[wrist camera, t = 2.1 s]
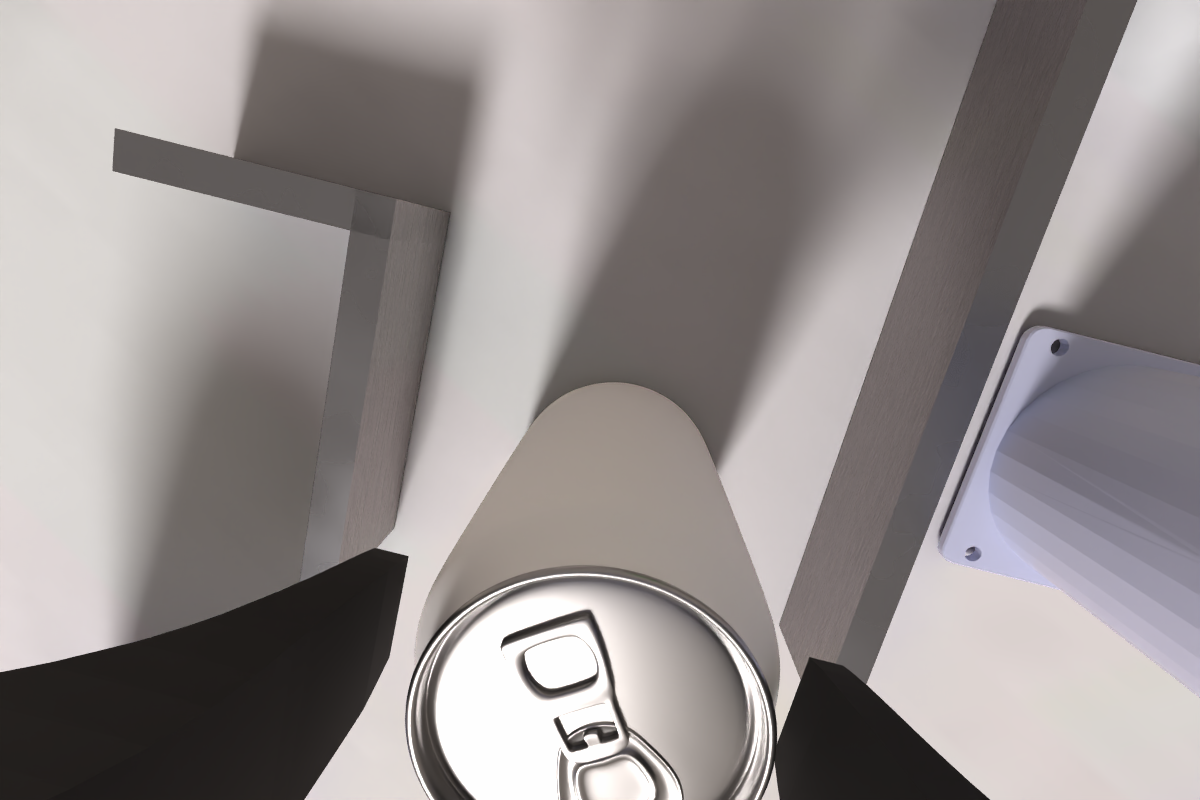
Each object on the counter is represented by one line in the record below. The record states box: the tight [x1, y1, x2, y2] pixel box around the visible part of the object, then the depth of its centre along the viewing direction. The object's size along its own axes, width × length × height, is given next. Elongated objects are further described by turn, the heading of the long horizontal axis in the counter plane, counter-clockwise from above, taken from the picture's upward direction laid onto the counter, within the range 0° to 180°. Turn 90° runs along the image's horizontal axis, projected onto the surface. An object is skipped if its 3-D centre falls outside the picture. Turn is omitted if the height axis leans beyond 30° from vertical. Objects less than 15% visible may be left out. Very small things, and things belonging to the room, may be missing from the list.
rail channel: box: [113, 0, 1137, 684], centre depth 17 cm, size 22×26×4 cm
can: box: [405, 382, 780, 800], centre depth 15 cm, size 6×6×12 cm
